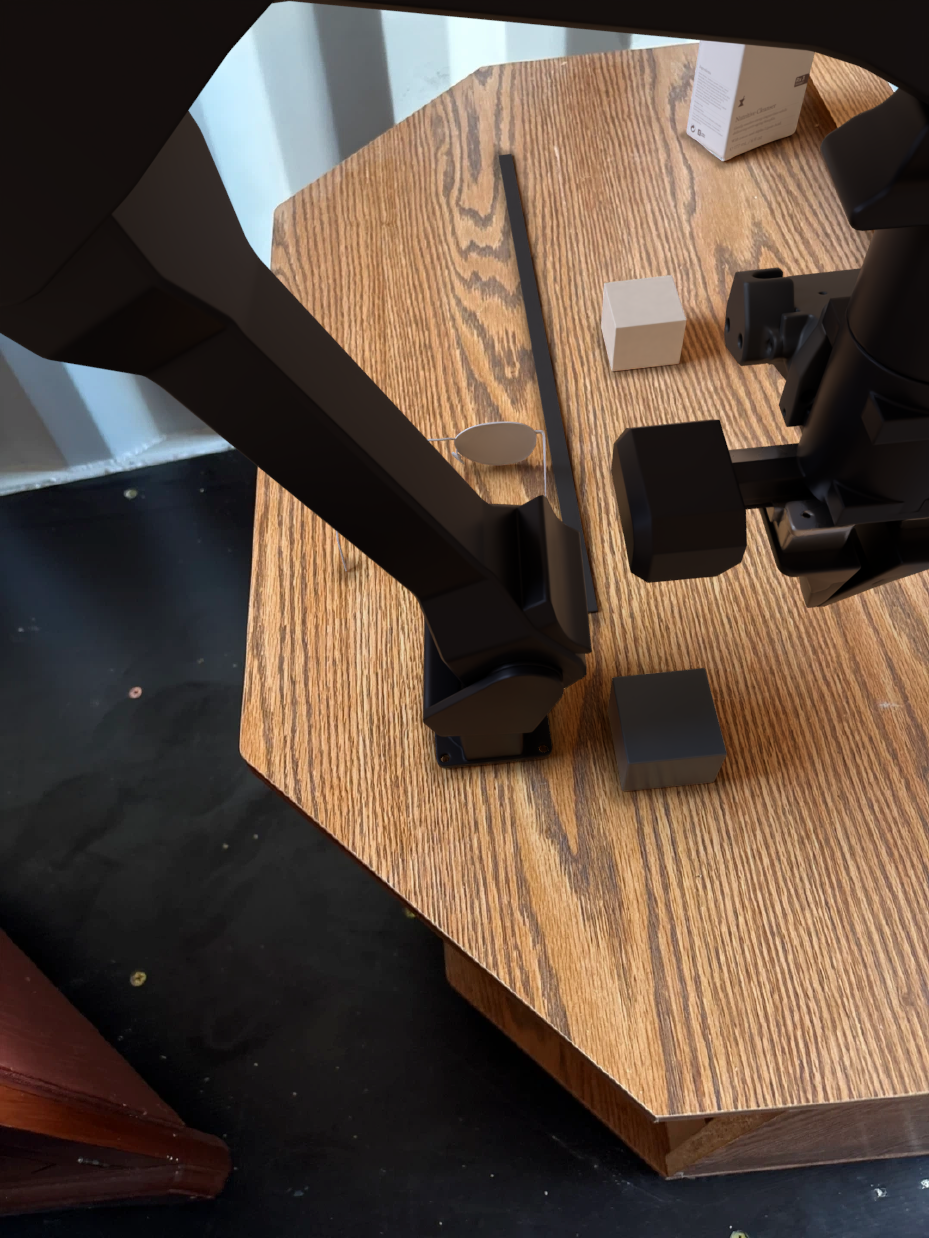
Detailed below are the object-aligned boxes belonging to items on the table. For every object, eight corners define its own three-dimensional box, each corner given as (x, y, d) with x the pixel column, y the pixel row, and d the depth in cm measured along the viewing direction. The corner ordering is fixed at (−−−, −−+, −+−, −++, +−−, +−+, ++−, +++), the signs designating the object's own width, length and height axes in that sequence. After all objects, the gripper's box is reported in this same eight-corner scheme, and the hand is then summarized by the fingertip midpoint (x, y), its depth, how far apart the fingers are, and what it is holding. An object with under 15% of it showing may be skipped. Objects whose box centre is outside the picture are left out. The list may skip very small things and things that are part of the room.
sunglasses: (544, 461, 59) (545, 418, 54) (551, 571, 56) (552, 535, 51) (346, 472, 60) (330, 431, 55) (341, 581, 57) (324, 547, 52)
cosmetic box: (722, 164, 75) (758, -33, 63) (682, 134, 78) (708, -61, 66) (799, 133, 77) (849, -66, 64) (756, 104, 80) (796, -91, 67)
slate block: (714, 782, 46) (727, 754, 43) (621, 792, 46) (628, 764, 43) (694, 700, 49) (705, 666, 45) (606, 708, 49) (611, 676, 45)
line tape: (597, 611, 52) (597, 610, 52) (578, 613, 52) (578, 612, 52) (511, 155, 79) (511, 153, 78) (498, 157, 79) (498, 155, 78)
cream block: (679, 364, 63) (687, 319, 59) (611, 372, 63) (615, 328, 60) (665, 319, 65) (672, 274, 62) (600, 327, 66) (603, 282, 62)
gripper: (1135, 141, 30) (955, 448, 43) (602, 202, 31) (586, 485, 44) (1320, 360, 24) (1046, 637, 37) (655, 427, 25) (619, 675, 38)
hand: (811, 598), depth 39 cm, fingers closed
